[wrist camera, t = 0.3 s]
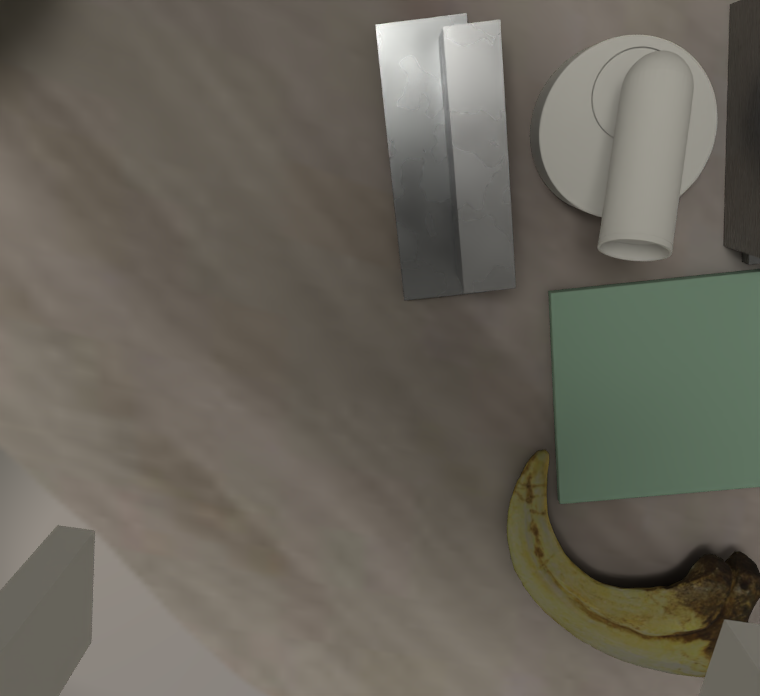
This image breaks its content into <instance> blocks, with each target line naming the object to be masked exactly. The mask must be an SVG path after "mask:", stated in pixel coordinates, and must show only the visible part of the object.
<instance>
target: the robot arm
mask: <svg viewBox="0 0 760 696" xmlns="http://www.w3.org/2000/svg"><path fill="white" fill-rule="evenodd" d="M94 540H95V531H94V530H87V529H80V528H72V527H66V526H59V525H58V526H57V527H56V528H55V529H54V530H53V531H52V532H51V533H50V535H49V536H48V537H47V538H46V539H45V540H44V541H43V543H42V544H41V545H40V546H39V547H38V548H37V549H36V551H35V552H34V553H33V554H32V555H31V556H30V557H29V558H28V560H27V561H26V562H25V563H24V564H23V565H22V566H21V568H20V569H19V570H18V571H17V572H16V573H15V574H14V576H13V577H12V578H11V579H10V580H9V581H8V583H6V585H5V586H4V587H3V588H2V589H1V590H0V696H59V694H60V693H61V691H62V689H63V688H64V686H65V685H66V683H67V681H68V680H69V678H70V676H71V675H72V673H73V671H74V670H75V668H76V667H77V665H78V663H79V662H80V660H81V658H82V657H83V655H84V653H85V652H86V650H87V648H88V647H89V645H90V644H91V639H92V607H93V606H92V605H93V604H92V603H93V575H94V543H95V541H94ZM699 696H760V624H753V623H746V622H739V621H732V620H724V622H723V625H722V628H721V631H720V634H719V637H718V640H717V643H716V646H715V649H714V652H713V655H712V658H711V660H710V663H709V666H708V669H707V672H706V675H705V678H704V681H703V684H702V687H701V690H700V693H699Z"/></svg>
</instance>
